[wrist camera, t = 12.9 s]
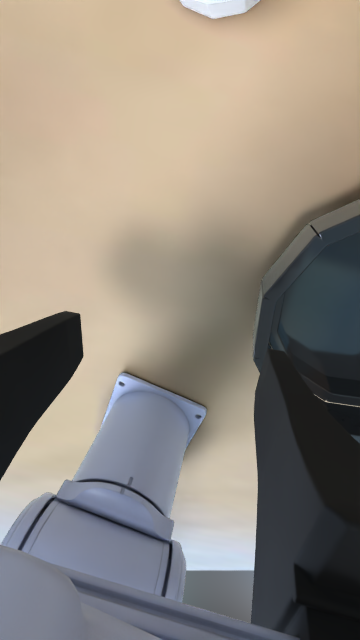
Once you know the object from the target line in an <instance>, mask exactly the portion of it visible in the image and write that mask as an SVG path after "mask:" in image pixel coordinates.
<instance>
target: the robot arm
mask: <svg viewBox="0 0 360 640" xmlns="http://www.w3.org/2000/svg"><path fill="white" fill-rule="evenodd" d="M82 358H83V344H82V332H81V319H80V314H78V313H73V312H68V311H64V312H61V313H57V314H55V315H52V316H49V317H46V318H44V319H41V320H38V321H36V322H33V323H31V324H28V325H25V326H23V327H20V328H18V329H15V330H12V331H9V332H6V333H3V334H1V335H0V480H1V478H2V477H3V475H4V473H5V472H6V470H7V468H8V467H9V465H10V463H11V461H12V460H13V458H14V456H15V455H16V453H17V451H18V450H19V448H20V447H21V445H22V443H23V442H24V440H25V439H26V437H27V435H28V434H29V432H30V431H31V429H32V428H33V427H34V425H35V424H36V422H37V421H38V420H39V418H40V417H41V416H42V415H43V413H44V412H45V411H46V410H47V408H48V407H49V406H50V404H51V403H52V402H53V401H54V399H55V398H56V397H57V396H58V394H59V393H60V392H61V390H62V389H63V388H64V387H65V385H66V384H67V383H68V381H69V380H70V379H71V377H72V376H73V374H74V372H75V371H76V369H77V367H78V366H79V364H80V362H81V360H82ZM122 382H124V383H122ZM206 412H207V409H206V408H205V407H204V406H202V405H200V404H197V403H195V402H193V401H190V400H188V399H186V398H183V397H181V396H179V395H176V394H174V393H172V392H169V391H167V390H164V389H162V388H160V387H157V386H155V385H153V384H150V383H148V382H146V381H143V380H141V379H139V378H136V377H134V376H132V375H129V374H127V373H120V375H119V376H118V379H117V382H116V385H115V387H114V390H113V393H112V396H111V399H110V402H109V405H108V408H107V411H106V414H105V417H104V420H103V423H102V426H101V429H100V430H99V432H98V434H97V436H96V438H95V440H94V441H93V443H92V445H91V447H90V449H89V451H88V452H87V454H86V456H85V458H84V460H83V461H82V463H81V465H80V467H79V469H78V471H77V472H76V474H75V476H74V478H73V480H72V481H70V480H65V481H64V483H63V485H62V486H61V488H60V490H59V492H58V493H57V495H55V494H52V493H50V492H47V493H44V494H43V495H41V496H40V497H38V498H36V499H34V500H33V501H31V502H30V503H29V504H28V505H27V506H26V507H25V508H24V510H23V511H22V512H21V514H20V515H19V516H18V518H17V519H16V521H15V522H14V524H13V525H12V527H11V528H10V530H9V531H8V533H7V535H6V536H5V538H4V540H3V542H2V543H1V545H0V640H360V443H359V442H358V441H356V440H355V439H354V438H353V437H352V436H351V435H350V434H349V433H348V432H347V431H346V430H345V429H344V428H343V427H342V426H341V425H340V424H339V423H338V422H337V421H336V420H335V418H334V417H333V416H332V415H331V414H330V413H329V412H328V411H327V409H326V408H325V407H324V406H323V405H322V403H321V402H320V401H319V400H318V399H317V397H316V396H315V395H314V394H313V392H312V391H311V390H310V388H309V387H308V385H307V384H306V383H305V381H304V380H303V378H302V377H301V376H300V374H299V373H298V371H297V370H296V368H295V367H294V365H293V364H292V362H291V360H290V359H289V357H288V356H287V354H286V353H285V352H284V351H279V350H274V349H269V348H267V350H266V354H265V358H264V361H263V365H262V369H261V372H260V376H259V380H258V384H257V387H256V391H255V404H254V426H255V441H256V456H257V470H258V502H257V528H256V550H255V568H254V585H253V600H252V615H251V623H247V622H244V621H240V620H237V619H234V618H230V617H227V616H224V615H221V614H218V613H214V612H211V611H208V610H204V609H201V608H198V607H194V606H191V605H188V604H184V603H182V599H183V593H184V586H185V577H186V560H185V557H184V554H183V552H182V548H181V545H180V543H179V542H176V541H174V540H171V535H172V530H173V526H174V521H173V520H171V519H170V515H171V510H172V506H173V501H174V497H175V493H176V488H177V484H178V479H179V475H180V471H181V466H182V462H183V457H184V453H185V449H186V448H187V446H188V444H189V443H190V441H191V439H192V438H193V436H194V434H195V432H196V431H197V429H198V427H199V426H200V424H201V422H202V421H203V419H204V417H205V416H206ZM197 414H199V415H200V416H198V415H197Z"/></svg>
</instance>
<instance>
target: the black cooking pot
mask: <svg viewBox="0 0 360 640" xmlns="http://www.w3.org/2000/svg"><path fill="white" fill-rule="evenodd" d="M269 343H270V344H269ZM270 345H271V346H270ZM271 347H272V348H271ZM267 348H269V349H274V350H279V351H284V352H285V353H286V354H287V356H288V357H289V359H290V360H291V362H292V364H293V365H294V367H295V368H296V370H297V371H298V373H299V374H300V376H301V377H302V378H303V380H304V381H305V383H306V384H307V385H308V387H309V388H310V390H311V391H312V392H313V394H315V395H317V396H318V397H320V398H321V399H323V400H324V401H323V400H321V399H320V398H318V397H317V396H316V397H317V399H318V400H319V401H320V402H321V403H322V405H323V406H324V407H325V408H326V409H327V411H328V412H329V413H330V414H331V415H332V416H333V417H334V418H335V420H336V421H337V422H338V423H339V424H340V425H341V426H342V427H343V428H344V429H345V430H346V431H347V432H348V433H349V434H350V435H351V436H352V437H353V438H354V439H355V440H356V441H358V442H359V443H360V407H355V406H360V199H358V200H356V201H354V202H352V203H349V204H347V205H345V206H343V207H341V208H338V209H336V210H334V211H332V212H330V213H327V214H325V215H323V216H321V217H318V218H316V219H314V220H312V221H310V224H306V226H305V227H304V228H303V229H302V230H301V232H300V233H299V234H298V235H297V236H296V238H295V239H294V240H293V241H292V242H291V244H290V245H289V246H288V247H287V249H286V250H285V251H284V252H283V253H282V255H281V256H280V257H279V258H278V259H277V261H276V262H275V263H274V264H273V265H272V267H271V268H270V269H269V270H268V272H267V273H266V274H265V275H264V276H263V278H262V280H261V284H260V290H259V297H258V303H257V310H256V316H255V323H254V330H253V360H254V362H255V364H256V366H257V368H258V370H259V372H261V369H262V365H263V361H264V358H265V354H266V350H267ZM325 400H327V401H328V402H334V403H341V404H347V405H341V404H334V403H328V402H325ZM348 405H354V406H348Z"/></svg>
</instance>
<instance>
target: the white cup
mask: <svg viewBox="0 0 360 640" xmlns="http://www.w3.org/2000/svg"><path fill="white" fill-rule="evenodd" d="M179 1H180V2H181V4H182V5H183V6H184V7H186V8H189V9H191V10H193V11H196V12H198V13H200V14H202V15H205V16H207V17H209V18H212V19H216V18H221V17H226V16H231V15H237V14H242V13H246V12H247V11H248V10H249V9H251V8H252V7H253V6H254V5H255V4H257V3H258V2H259V1H260V0H179Z"/></svg>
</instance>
